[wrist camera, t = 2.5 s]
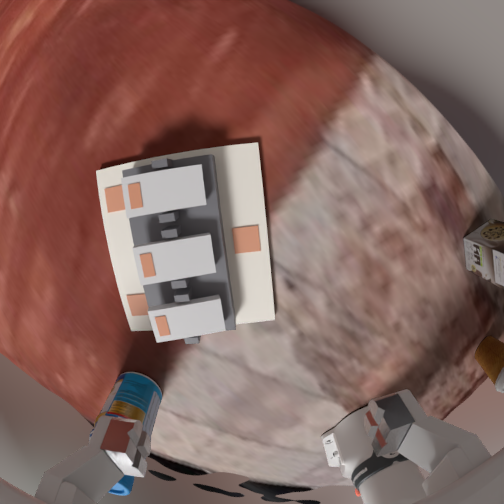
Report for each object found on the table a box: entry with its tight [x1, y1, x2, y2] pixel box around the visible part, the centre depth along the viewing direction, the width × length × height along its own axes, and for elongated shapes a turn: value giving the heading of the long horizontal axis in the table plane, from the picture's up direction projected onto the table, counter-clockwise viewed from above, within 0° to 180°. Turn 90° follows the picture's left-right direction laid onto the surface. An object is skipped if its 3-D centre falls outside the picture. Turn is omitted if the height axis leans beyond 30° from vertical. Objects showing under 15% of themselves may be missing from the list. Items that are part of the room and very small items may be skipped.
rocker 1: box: [121, 164, 206, 218], centre depth 26 cm, size 4×8×1 cm, turn 96°
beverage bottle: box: [89, 372, 162, 495], centre depth 30 cm, size 8×8×20 cm
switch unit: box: [96, 142, 275, 344], centre depth 31 cm, size 22×20×6 cm
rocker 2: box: [133, 233, 216, 286], centre depth 28 cm, size 4×8×1 cm, turn 96°
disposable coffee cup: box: [475, 336, 504, 393], centre depth 37 cm, size 10×10×12 cm
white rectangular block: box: [148, 295, 226, 343], centre depth 30 cm, size 4×8×1 cm, turn 96°
